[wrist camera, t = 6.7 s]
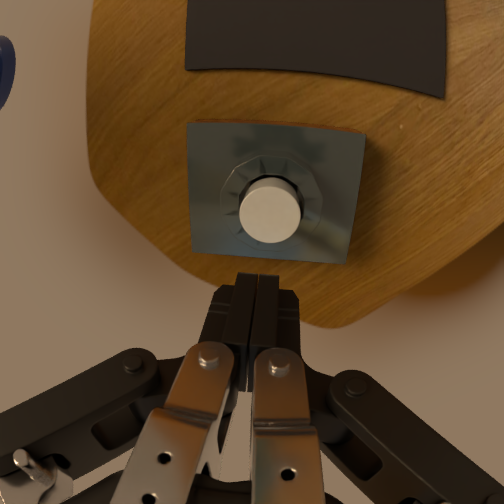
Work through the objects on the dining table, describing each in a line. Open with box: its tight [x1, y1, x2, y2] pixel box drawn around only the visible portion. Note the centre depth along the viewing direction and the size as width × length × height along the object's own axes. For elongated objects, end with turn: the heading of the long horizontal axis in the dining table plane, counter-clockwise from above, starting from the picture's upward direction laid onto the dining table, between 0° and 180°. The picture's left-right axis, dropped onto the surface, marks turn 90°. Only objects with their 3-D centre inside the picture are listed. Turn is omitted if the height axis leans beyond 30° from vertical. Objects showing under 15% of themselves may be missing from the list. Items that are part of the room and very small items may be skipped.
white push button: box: [239, 178, 301, 243], centre depth 19 cm, size 4×4×2 cm
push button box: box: [187, 119, 366, 264], centre depth 21 cm, size 12×10×5 cm
